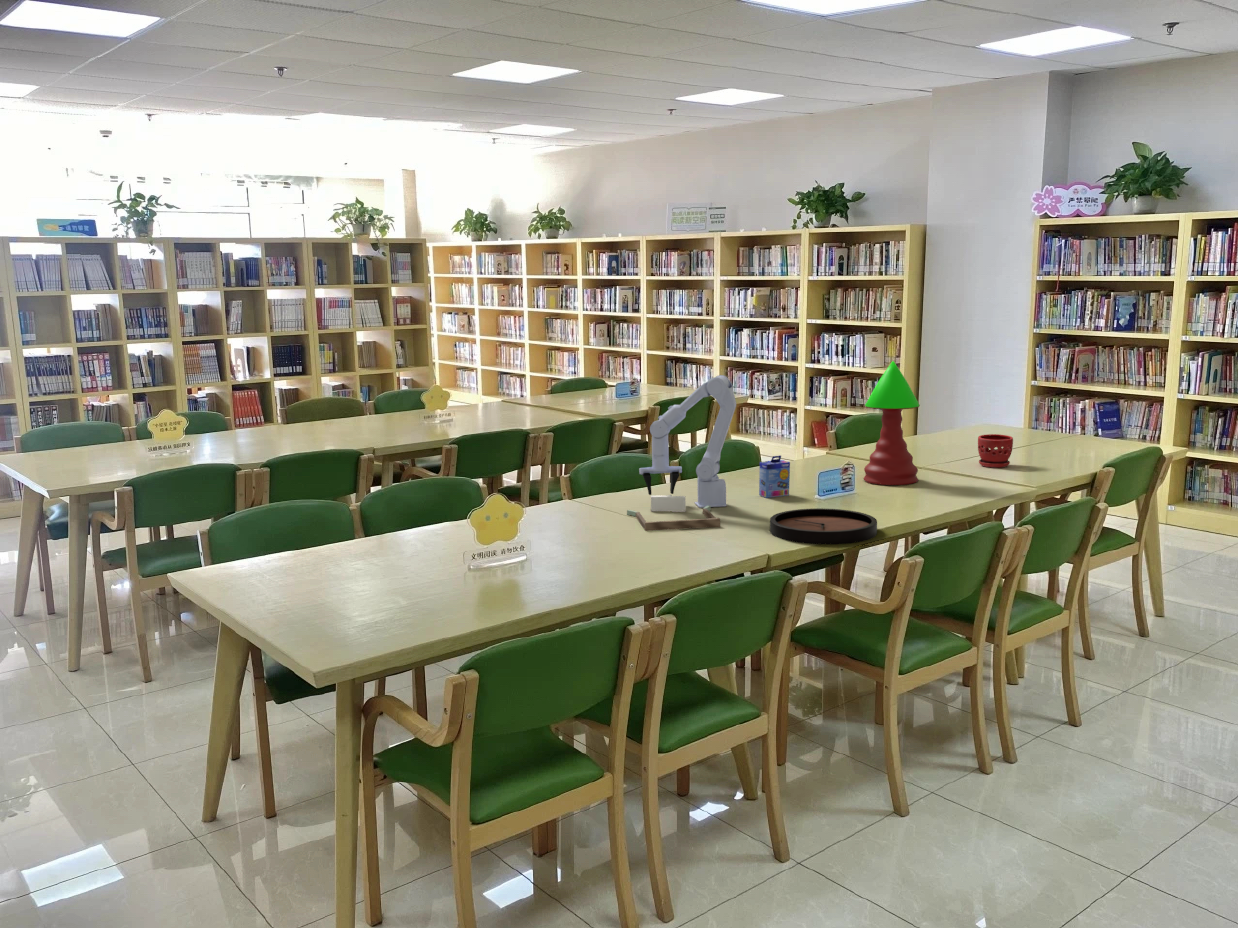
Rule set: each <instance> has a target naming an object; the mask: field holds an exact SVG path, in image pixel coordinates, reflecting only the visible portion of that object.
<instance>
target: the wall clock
mask: <svg viewBox="0 0 1238 928" xmlns="http://www.w3.org/2000/svg"><path fill="white" fill-rule="evenodd" d="M769 533H770V534H771V535H772V536H773V537H775V538H778V539H779V540H780V539H781V540H784V541H787V542H792V543H799V544H805V545H822V546H823V545H824V546H826V545H830V546H831V545H832V546H833V545H849V544H856V543H857V544H858V543H861V542H865V541H869V540H872V539H874V538H875V537H876V536H877V534H878V520H877V518H875V517H874V516H872V515H869V514H868V513H864V512H860V511H854V510H847V509H839V508H818V507H817V508H801V509H800V508H799V509H798V508H797V509H792V510H791V509H790V510H786V511H785V510H784V511H780V512H778V513H775V514H773V515H772V516H770V519H769Z"/></svg>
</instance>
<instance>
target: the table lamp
mask: <svg viewBox="0 0 1238 928" xmlns="http://www.w3.org/2000/svg"><path fill="white" fill-rule="evenodd" d="M919 407H920V402H919V401H918V399H917V398H916V396H915V394H914V392H913V391H912V388H911V387H910V385H909V383H908V380H907V379H906V377H905V376H904V375H903V373H902V372H901V370H900V368H899V367H898V366H897V364H896V362H895V361H894V360H892V361H891V362H890V364H889V365H888V366H887V368H886V370H885V371H884V372H883V373H882V375H881V377H880V378H879V380H878V381H877V384H876V385H875V387H874V388H873V390H872V392H871V394H870V395H869V397H868V399H867V400H866V403H865V404H864V408H867V409H872V410H873V409H874V410H881V411H882V414H881V415H882V416H881V419H880V420H881V424H882V427H881V429H880V431H879V432H880V437H879V439H878V440H877V441H876V443H875V449H874V451H873V452H872V453H871V454H870V455H869V462H868V463H867V465H865V466H864V468H863V471H864V473H865V475H864V477H863V481H865V483H869V484H874V485H880V486H883V485H884V486H905V485H906V486H907V485H912V484H915V483H918V481H919V478H918V477H917V474H918V471H919V470H918V468H917V467H918V466H916V464H914V462H913V460H914V457H913V456H912V454H911V453H910V452H909V450H908V444H907V442H906V441H905V439H904V437H903V436H904V431H903V428H902V422H903V415H902V412H903V410H912V409H917V408H919Z"/></svg>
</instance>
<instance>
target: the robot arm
mask: <svg viewBox="0 0 1238 928" xmlns="http://www.w3.org/2000/svg"><path fill="white" fill-rule="evenodd" d="M710 396H711V397H712V398H714V399H715V400H716V402H717V404H718V405H719V411H718V414H717V416H716V419H715V423H714V426H713V430H712V432H711V436H710V439H709V441H708V444H707V447H706V451H705V453H704V455H703V457H702V459H701V461H700V463H698V464H697V466H696V468H695V473H696V476H697V501H694V504H695V505H696V506H697V507H698V508H699V509H700V508H702V509H703V508H704V507H706V506H711V508H718V507H727V506H728V504H727V486H726V485H727V483H726V480H725V479H724V478H720V477H719V475H718V473H719V472H720V466H721V465H720V460H721V452H722V450H723V447H724V443H725V440H726V438H727V435H728V432H729V428H730V426H731V423H732V420H733V417H734V414H735V411H736V408H737V400H736V396H735V391H734V385H733V383H732V381H730V379H729V378H728V377H727V376H726V375H722V374H719V375H717V376H714V377H712V378H710V379H709V380H708V381H706V382H705V383H702V384H701V385H700V386H698V387H697V388H696V389H695V390H694V391H693V392H692V393H691V394H690V395H688V397H686V398H685V399H684V401H682V402H681V403H680V404H673V405H669V407H667V409H668V410H667V411H665V412H664V413H663V414H662V415H659V416H658V417H657V418H658V420H655V421H652V424H651V425H649V426H650V427H649V432H650V434H651V460H652V461H651V464H652V465H651V466H647V467H640V468H638V471H639V473H638V474H639V475H642V478H643V480H644V481H645V484H646V487H647V492H648V495H649V496H652V476H651V474H669V479H670V480H669V481H670V486H669V487H670V489H669V492H670V495H673V494H674V493H675V492H674V491H675V488H676V487H675V486H676V484H677V481H678V479H679V478H680V474H682V472H683V467H682V466H681V465H680V466H677V465H676V466H675V465H671V466H670V459H669V457H670V456H669V455H670V454H669V443H670V442H669V434H670V432H671V430H673V429H674V428H675V427H677V426H678V424H680V423H681V422H682V421H683V420H684V419H685V418H686V417H687V416H686V415H687V412H688V411H689V410H690V409H691V408H692V407H694V406H695V405H696V404H697V403H698V402H699V401H701V400H702V399H703V398H707V397H708V398H709V397H710Z"/></svg>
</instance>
